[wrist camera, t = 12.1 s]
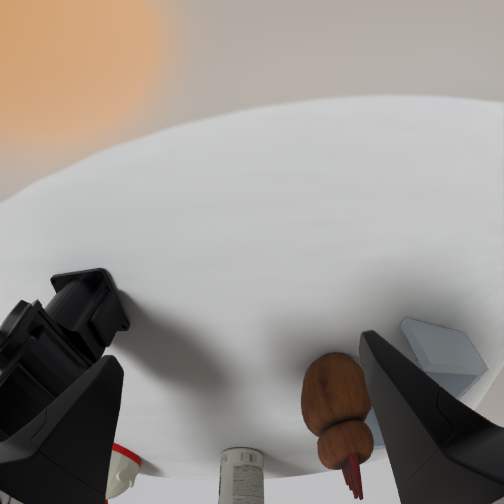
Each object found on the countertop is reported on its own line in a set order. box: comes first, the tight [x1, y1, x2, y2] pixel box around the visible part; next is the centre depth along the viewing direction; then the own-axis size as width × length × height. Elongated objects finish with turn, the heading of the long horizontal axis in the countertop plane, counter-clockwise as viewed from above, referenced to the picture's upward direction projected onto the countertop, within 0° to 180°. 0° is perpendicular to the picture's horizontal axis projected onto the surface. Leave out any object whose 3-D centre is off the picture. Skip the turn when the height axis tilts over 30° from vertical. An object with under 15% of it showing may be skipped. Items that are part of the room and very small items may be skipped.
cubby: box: [364, 317, 488, 449], centre depth 26 cm, size 11×16×6 cm
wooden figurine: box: [301, 353, 374, 500], centre depth 21 cm, size 7×6×15 cm
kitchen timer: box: [105, 443, 141, 504], centre depth 36 cm, size 14×14×15 cm
